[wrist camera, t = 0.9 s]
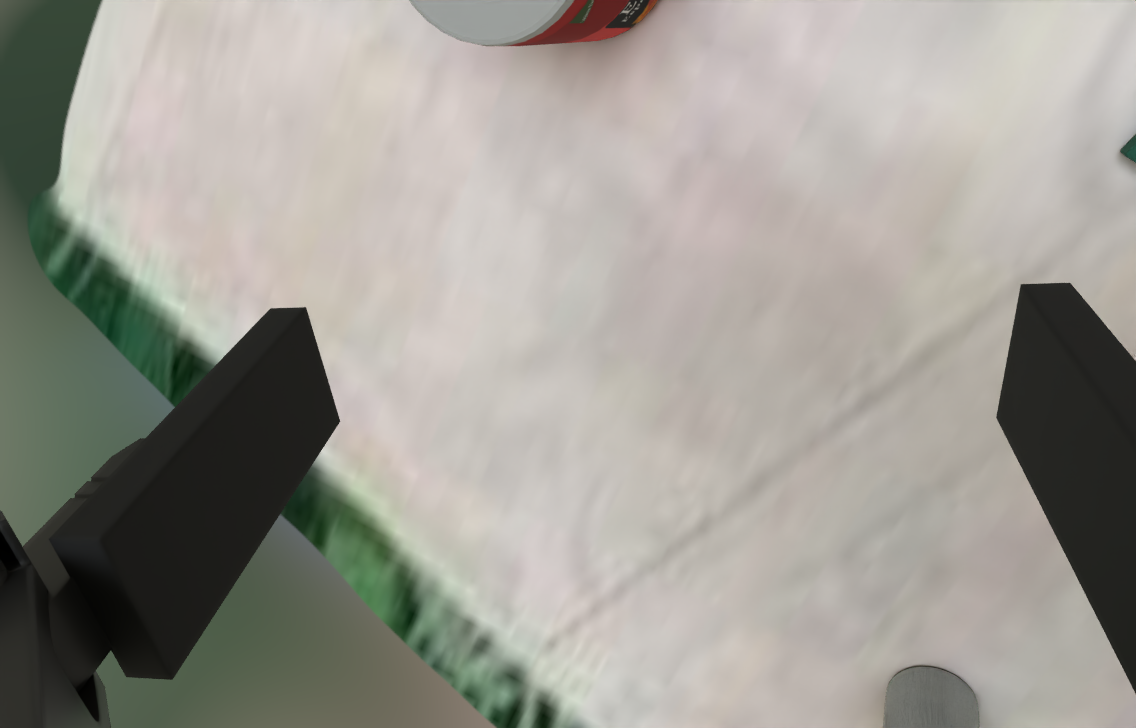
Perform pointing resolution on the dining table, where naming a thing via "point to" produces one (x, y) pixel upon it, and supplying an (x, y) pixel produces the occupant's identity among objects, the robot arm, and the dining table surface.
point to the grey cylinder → (929, 700)
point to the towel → (1130, 149)
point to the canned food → (532, 19)
